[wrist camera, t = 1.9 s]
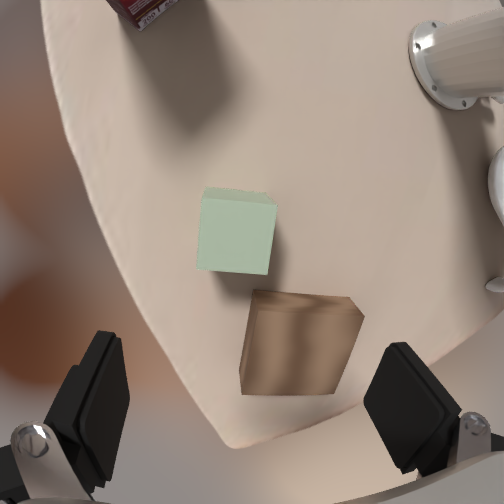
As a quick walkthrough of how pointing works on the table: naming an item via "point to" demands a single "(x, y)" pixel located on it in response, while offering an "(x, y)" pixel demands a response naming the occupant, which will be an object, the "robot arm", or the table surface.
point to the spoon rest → (497, 203)
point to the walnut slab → (297, 343)
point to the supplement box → (140, 10)
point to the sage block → (235, 231)
